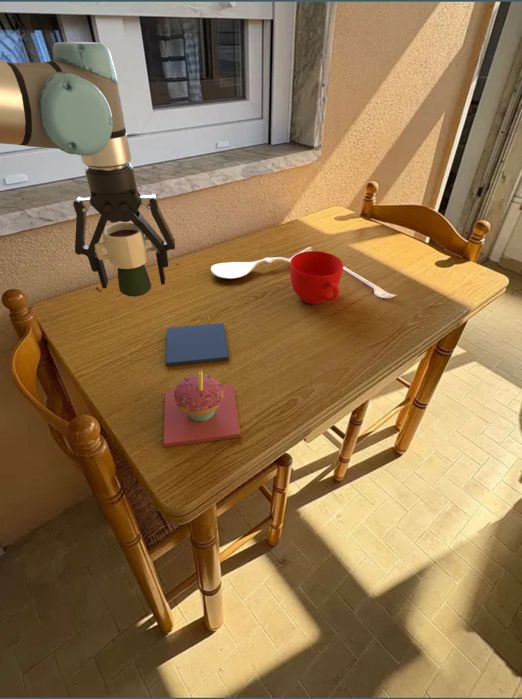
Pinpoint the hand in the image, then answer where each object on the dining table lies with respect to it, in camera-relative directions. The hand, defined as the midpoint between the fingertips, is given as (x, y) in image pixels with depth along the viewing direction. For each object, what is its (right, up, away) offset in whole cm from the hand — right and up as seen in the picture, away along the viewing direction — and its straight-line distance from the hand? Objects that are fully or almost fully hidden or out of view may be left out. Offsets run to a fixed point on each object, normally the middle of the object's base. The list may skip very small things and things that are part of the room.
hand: (134, 282), depth 76 cm
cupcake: (+14, -25, -7) cm, 30 cm away
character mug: (0, -2, +1) cm, 2 cm away
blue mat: (+11, -12, +8) cm, 19 cm away
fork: (+54, +4, +29) cm, 62 cm away
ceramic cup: (+40, -1, +22) cm, 45 cm away
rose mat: (+14, -25, -7) cm, 30 cm away
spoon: (+27, +10, +34) cm, 44 cm away
